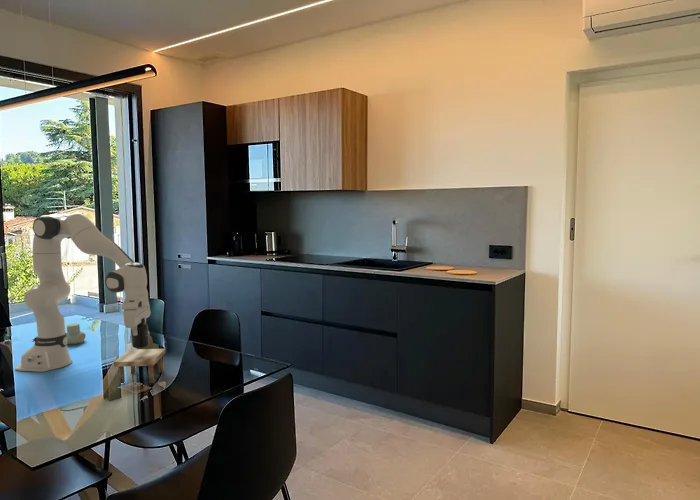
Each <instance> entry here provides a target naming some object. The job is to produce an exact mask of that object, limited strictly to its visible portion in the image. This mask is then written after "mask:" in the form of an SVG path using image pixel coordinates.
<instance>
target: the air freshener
mask: <svg viewBox="0 0 700 500" xmlns="http://www.w3.org/2000/svg"><path fill="white" fill-rule="evenodd" d="M80 327H81V326H80V323H77V322H76V323H74V322H73V323H70V324H67V325H66V333H67V345H79V344H81V343H83V341H85V339H86V333H84V332H83V331H81V328H80Z"/></svg>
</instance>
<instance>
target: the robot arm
mask: <svg viewBox="0 0 700 500" xmlns="http://www.w3.org/2000/svg"><path fill="white" fill-rule="evenodd" d="M32 231H33V233H34V234H33V239H32V268H33V269H32V270H33V271H34V272H35V273H36V275H37V276H38V280H39V284H37V285H33V287H31V288H30V289H29V290H27V291H26V293H25V294H24V297H23V300H24V304H25V306H26V307H27V308H29V309H30V310H31V312H32V313H33V316H34V318H35V323H36V331H37V336H35V337H34V338H33V339H32V340H31V342H32V343H33V342H34V344H33V345H32V346H31V347H30V348H28V349H27V350H26V351H24V353H23V354H22V356H21V359H20V363H18V364H17V365H16V366H15V368H14V369H15V371H21V372H22V371H25V372H39V373H40V372H42V373H43V372H47V371H51V370H56V369H60V368H63V367H66V366H69V365H70V364H71V363H72V362H73V359H71V356H70V353H69V349H68V344H67V331H66V323H65V321H66V320H65V317H64V315H63V314H62V313H61V312H60V310H59V307H58V304H59V303H61V302H63V301H64V300H65V299H67V297H68V296H69V295H70V293H71V286H70V284H69V283H68V281H66V279H65V278H66V277H65V275H64V272H63V266H62V246H61V245H62V240H64V239H71V241H72V242H73V243H74V244H75V247H77V249H79V251H81V252H82V253H83V254H87V255H90V256H91V255H93V256H99V257H105V258H108V259H110V260H112V261H113V262H114V264H115V265H116V266H118V267H119V268H117V269H115V270H112V271H109V272H107V274H106V275H105V280H104V283H105V287H106V289H107V290H109V292H111V293H113V294H115V293H117V294H118V293H123V292H124V293H125V294H124V296H125V298H124V301H123V303H122V304H121V309H122V310H123V313H122V314H123V315H122V316H123V322H124V326H125V328H127V329H130V330H131V329H132V332H133V335H134V336H137V335H138V331H137V325H138V324H140V323H141V319H143V318H145V323H146V324H147V319H148V318H149V317H150V316H151V306H150V301H149V292H148V288H147V286H148V275H147V270H146V267H145V265H144V264H143V263H141V262H137V261H136V262H135V261H134V260H133V259H132V258H131V257H130V256H129V255H128V253H126V252H125V251H124V250H123V248H121V247H120V246H119V245H118V244H117V243H115V242H114V241H113V240H111V239H109V238H108V237H107V236H105V234H103V233H102V232H101V231H100V230H99V229H98V227H97V226H96V225H95V224H94V223H93V222H92V220H90V219H89V218H88V217H87V216H86V215H85V214H83V213H81V212H73V213H57V214H56V213H55V214H49V215H48V214H44V215H40V216H37V217H36V218H35V219H34V220H33V223H32Z"/></svg>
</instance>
